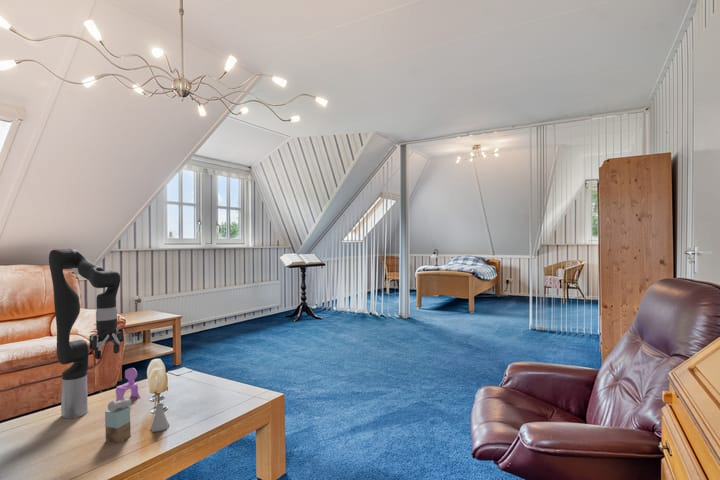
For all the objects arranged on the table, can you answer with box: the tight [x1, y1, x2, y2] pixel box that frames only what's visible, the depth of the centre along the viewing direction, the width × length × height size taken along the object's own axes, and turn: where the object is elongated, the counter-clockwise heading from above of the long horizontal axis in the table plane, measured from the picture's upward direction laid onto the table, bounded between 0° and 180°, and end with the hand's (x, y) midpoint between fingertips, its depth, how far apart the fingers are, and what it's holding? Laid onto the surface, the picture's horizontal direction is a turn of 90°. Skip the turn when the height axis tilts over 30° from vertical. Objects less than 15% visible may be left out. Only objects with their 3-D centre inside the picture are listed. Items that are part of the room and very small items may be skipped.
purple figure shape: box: [115, 367, 141, 402], centre depth 198 cm, size 8×9×15 cm
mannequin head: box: [107, 397, 132, 412], centre depth 160 cm, size 4×8×5 cm
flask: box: [150, 402, 170, 433], centre depth 169 cm, size 7×7×10 cm
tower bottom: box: [105, 421, 132, 444], centre depth 160 cm, size 6×6×6 cm
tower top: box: [104, 406, 131, 428], centre depth 160 cm, size 6×6×6 cm
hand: (107, 356), depth 170 cm, fingers open, 8 cm apart
